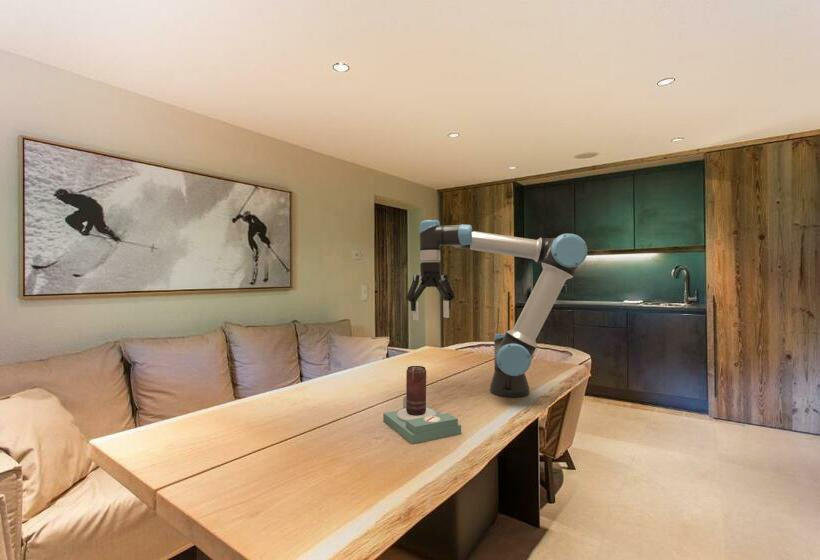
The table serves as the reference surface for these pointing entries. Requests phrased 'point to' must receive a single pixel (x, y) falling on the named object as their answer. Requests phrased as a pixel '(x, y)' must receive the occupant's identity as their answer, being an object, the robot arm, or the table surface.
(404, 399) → the spacer
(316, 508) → the table surface
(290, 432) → the table surface
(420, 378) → the can
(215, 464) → the table surface
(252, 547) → the table surface
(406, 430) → the scale
